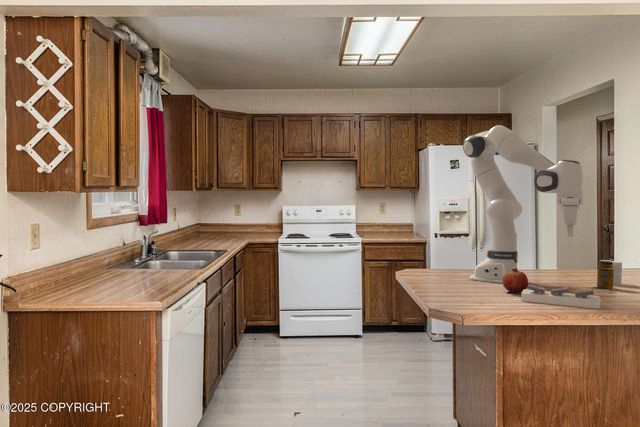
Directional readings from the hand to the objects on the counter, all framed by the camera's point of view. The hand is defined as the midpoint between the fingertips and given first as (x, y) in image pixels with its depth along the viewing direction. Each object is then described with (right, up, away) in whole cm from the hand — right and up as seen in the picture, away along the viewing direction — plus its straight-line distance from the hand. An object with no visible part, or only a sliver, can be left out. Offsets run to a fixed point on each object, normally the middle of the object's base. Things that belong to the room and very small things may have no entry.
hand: (570, 235), depth 189 cm
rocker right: (-2, -20, -14) cm, 25 cm away
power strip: (-9, -25, -9) cm, 28 cm away
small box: (+34, -24, +30) cm, 51 cm away
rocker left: (-16, -20, -6) cm, 27 cm away
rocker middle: (-9, -20, -10) cm, 24 cm away
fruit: (-18, -24, +10) cm, 32 cm away
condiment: (+24, -24, +19) cm, 39 cm away
